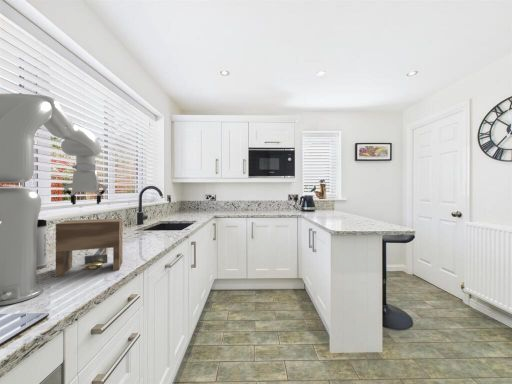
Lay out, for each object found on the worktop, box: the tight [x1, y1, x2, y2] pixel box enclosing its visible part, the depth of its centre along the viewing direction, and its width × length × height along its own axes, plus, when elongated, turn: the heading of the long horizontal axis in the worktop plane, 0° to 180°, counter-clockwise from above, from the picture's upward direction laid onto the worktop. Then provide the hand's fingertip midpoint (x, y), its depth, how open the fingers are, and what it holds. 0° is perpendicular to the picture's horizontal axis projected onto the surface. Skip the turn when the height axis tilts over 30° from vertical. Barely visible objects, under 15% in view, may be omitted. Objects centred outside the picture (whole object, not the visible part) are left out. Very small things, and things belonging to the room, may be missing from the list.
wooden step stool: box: [55, 218, 124, 278], centre depth 97 cm, size 13×20×19 cm, turn 113°
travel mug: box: [36, 218, 48, 271], centre depth 98 cm, size 6×7×20 cm
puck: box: [84, 262, 103, 270], centre depth 99 cm, size 6×6×2 cm
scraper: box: [84, 248, 109, 266], centre depth 113 cm, size 19×8×7 cm, turn 23°
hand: (86, 204), depth 117 cm, fingers open, 9 cm apart
